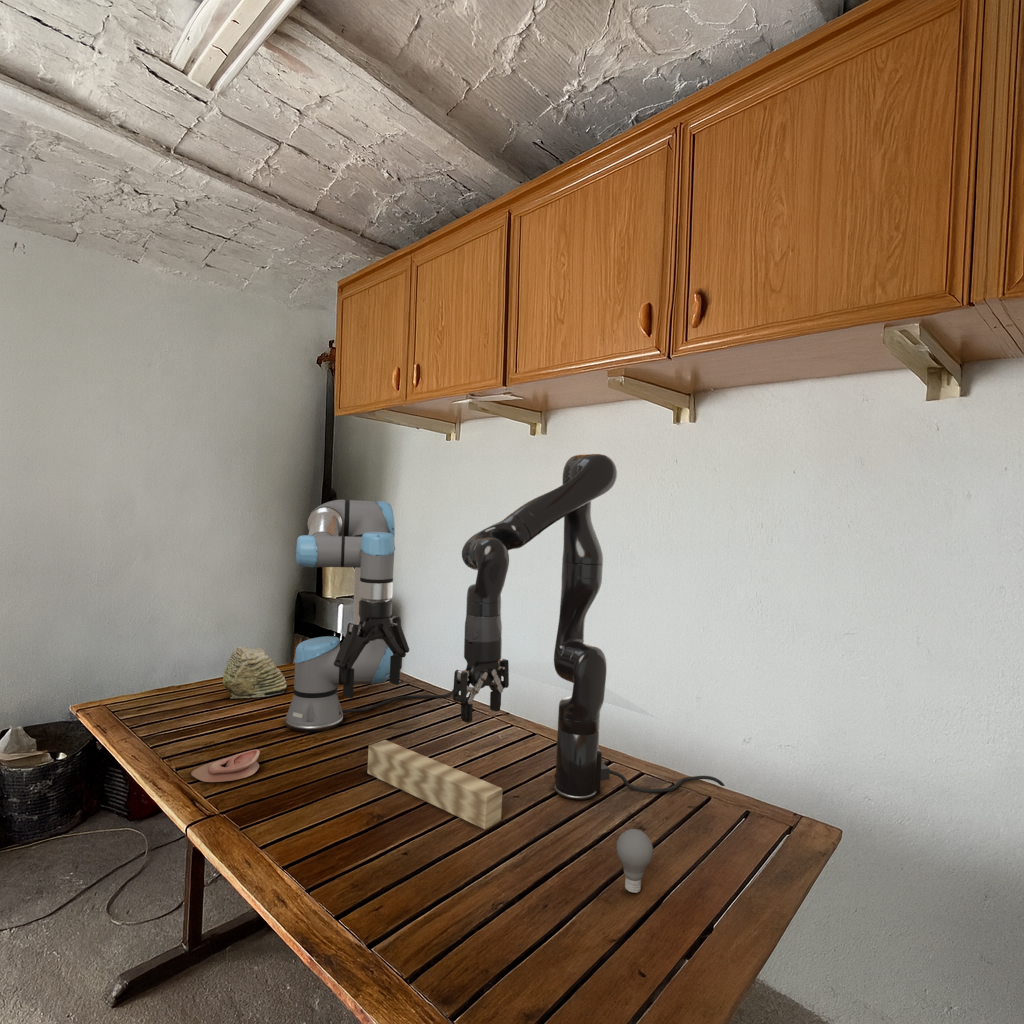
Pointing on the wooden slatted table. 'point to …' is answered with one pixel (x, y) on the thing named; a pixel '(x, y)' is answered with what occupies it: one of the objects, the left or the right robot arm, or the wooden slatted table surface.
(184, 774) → the wooden slatted table surface
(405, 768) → the birch plank
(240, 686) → the fossil
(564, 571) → the right robot arm
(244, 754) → the anatomical model
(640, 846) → the light bulb
